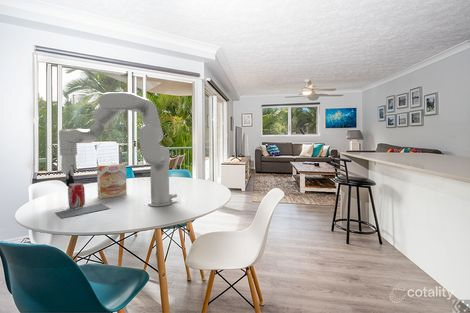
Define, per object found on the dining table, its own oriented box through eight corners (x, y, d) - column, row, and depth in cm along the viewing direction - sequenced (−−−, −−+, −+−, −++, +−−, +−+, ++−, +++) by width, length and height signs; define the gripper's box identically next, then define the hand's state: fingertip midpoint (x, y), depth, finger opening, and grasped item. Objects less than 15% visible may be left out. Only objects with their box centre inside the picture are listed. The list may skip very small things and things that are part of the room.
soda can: (65, 207, 119) (64, 184, 118) (79, 204, 125) (78, 182, 125) (74, 209, 116) (73, 185, 115) (88, 205, 123) (87, 183, 122)
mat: (101, 204, 125) (101, 203, 125) (110, 208, 117) (109, 207, 117) (55, 213, 110) (55, 212, 110) (61, 218, 102) (61, 217, 102)
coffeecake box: (100, 198, 138) (99, 165, 136) (97, 196, 143) (96, 165, 141) (127, 194, 148) (126, 164, 146) (123, 192, 153) (122, 163, 152)
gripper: (56, 152, 128) (58, 185, 130) (63, 153, 118) (65, 188, 120) (72, 151, 134) (74, 183, 135) (80, 152, 124) (82, 186, 125)
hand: (70, 185), depth 127 cm, fingers closed
